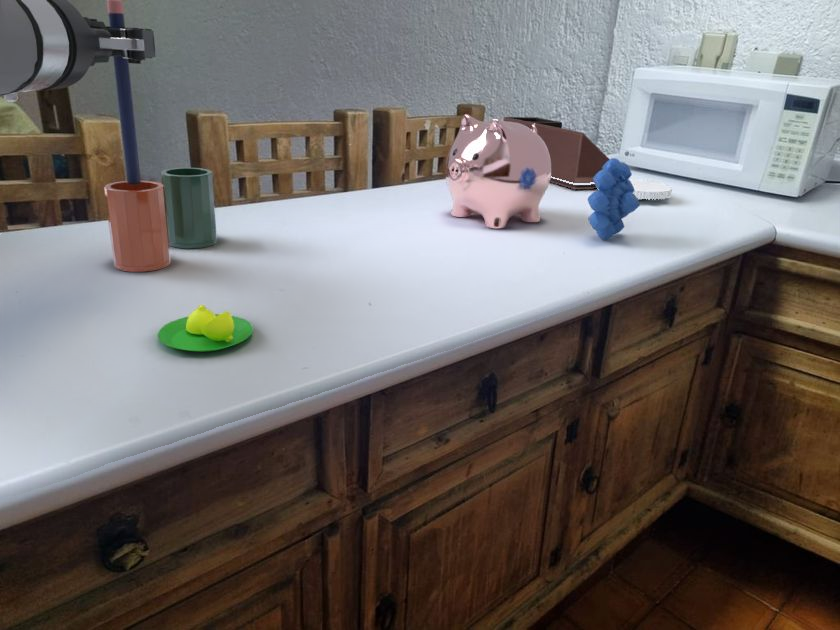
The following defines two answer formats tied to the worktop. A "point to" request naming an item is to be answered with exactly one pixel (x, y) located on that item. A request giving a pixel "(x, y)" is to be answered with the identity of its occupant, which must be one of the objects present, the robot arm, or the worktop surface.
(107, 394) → the worktop surface
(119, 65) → the pencil
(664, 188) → the plastic lid
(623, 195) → the blue lumpy block
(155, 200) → the terracotta cup
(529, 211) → the piggy bank
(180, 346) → the lemons on green plate
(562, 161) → the desk organizer
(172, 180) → the green cup
